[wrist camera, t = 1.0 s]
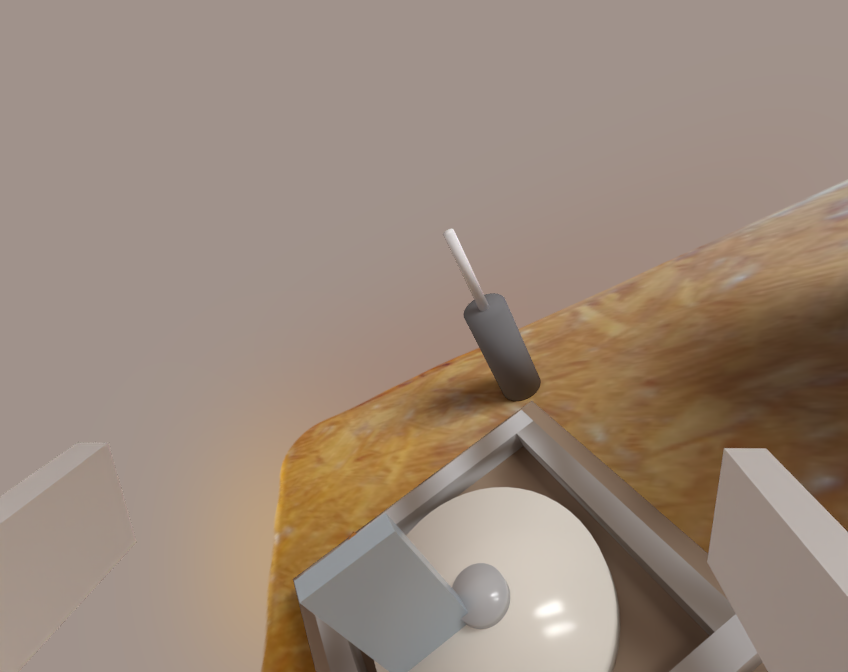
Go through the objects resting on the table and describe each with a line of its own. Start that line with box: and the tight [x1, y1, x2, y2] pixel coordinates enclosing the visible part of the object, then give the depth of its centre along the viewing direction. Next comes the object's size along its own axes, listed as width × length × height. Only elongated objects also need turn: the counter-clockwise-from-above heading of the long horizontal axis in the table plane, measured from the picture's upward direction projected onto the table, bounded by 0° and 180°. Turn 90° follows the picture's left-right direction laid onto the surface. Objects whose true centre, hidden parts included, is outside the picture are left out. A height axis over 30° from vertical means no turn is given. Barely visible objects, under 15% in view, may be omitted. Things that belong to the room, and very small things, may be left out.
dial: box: [294, 487, 620, 672], centre depth 26 cm, size 14×14×11 cm
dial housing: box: [293, 401, 768, 672], centre depth 29 cm, size 22×22×4 cm
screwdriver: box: [443, 229, 540, 401], centre depth 40 cm, size 3×3×16 cm
